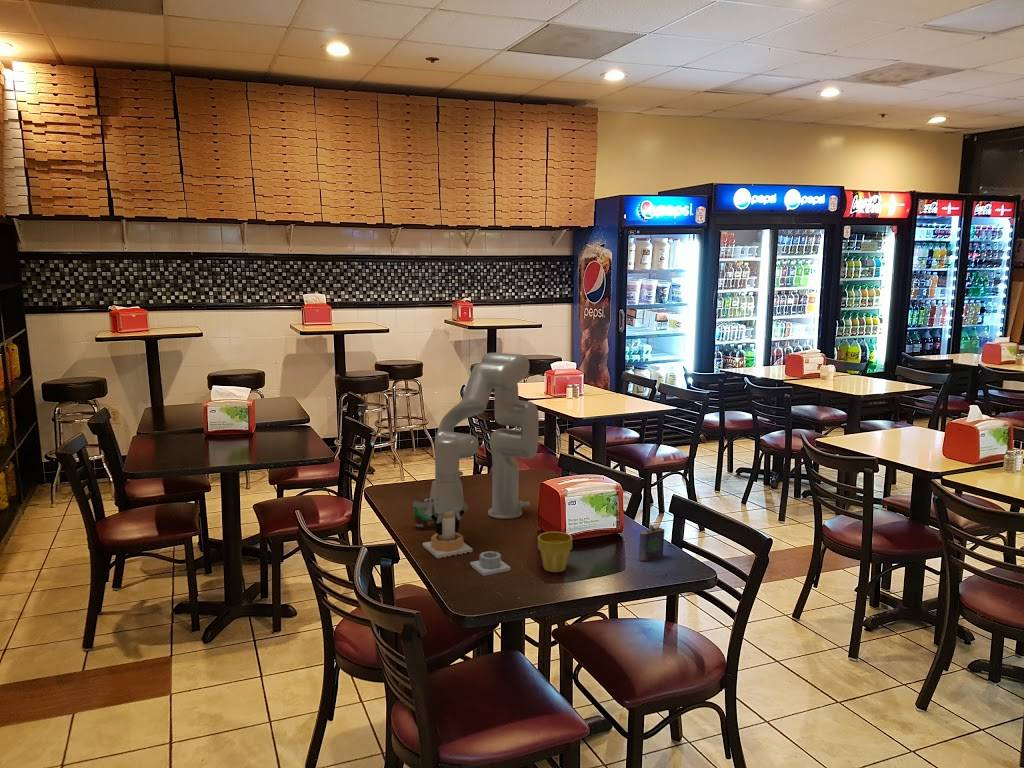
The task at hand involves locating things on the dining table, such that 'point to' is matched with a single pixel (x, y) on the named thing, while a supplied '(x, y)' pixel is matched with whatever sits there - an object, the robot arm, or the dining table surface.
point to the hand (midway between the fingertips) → (447, 532)
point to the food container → (423, 514)
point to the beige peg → (448, 526)
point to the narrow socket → (490, 564)
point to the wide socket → (447, 546)
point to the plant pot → (554, 550)
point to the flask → (651, 544)
